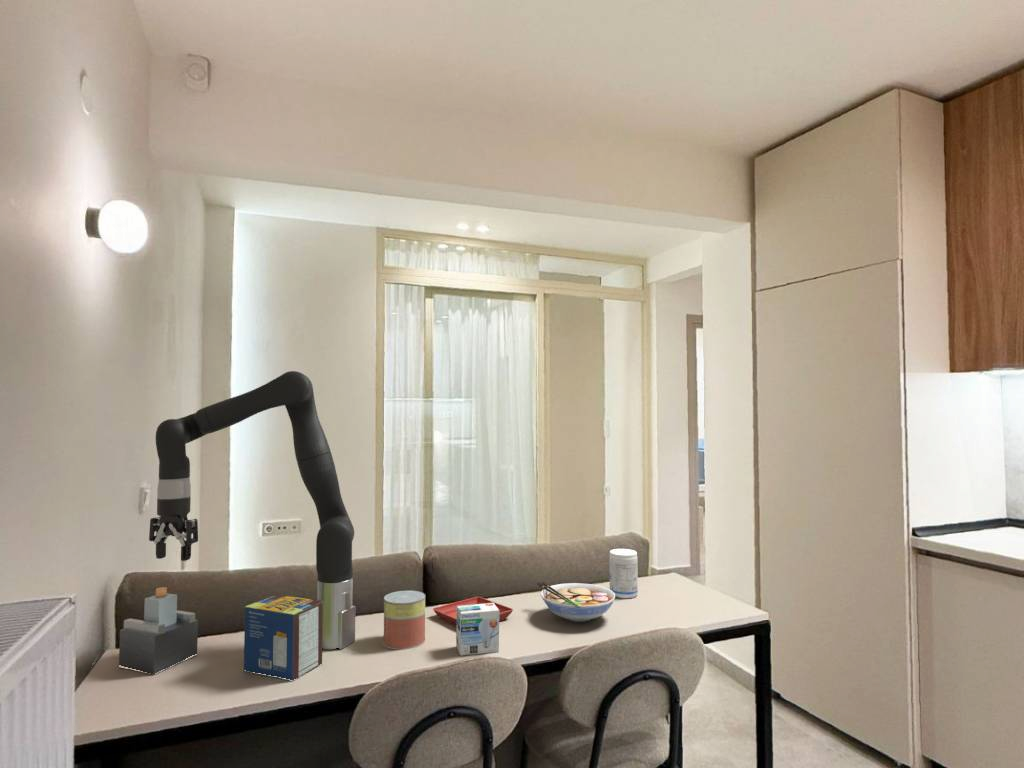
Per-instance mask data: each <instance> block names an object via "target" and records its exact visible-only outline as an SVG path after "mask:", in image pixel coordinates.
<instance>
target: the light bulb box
mask: <svg viewBox="0 0 1024 768" xmlns="http://www.w3.org/2000/svg"><path fill="white" fill-rule="evenodd" d="M455 630H456V635H455V636H456V638H455V639H456V640H455V644H456V645H455V647H456V648H457V651H458V653H459V656H469V655H480V654H481V655H482V654H491V653H499V652H500V621H499V609H498V608H497V607H496V605H495V604H494V603H485V604H474V605H462V606H457V625H456V629H455Z"/></svg>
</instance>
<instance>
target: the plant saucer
mask: <svg viewBox="0 0 1024 768" xmlns="http://www.w3.org/2000/svg"><path fill="white" fill-rule="evenodd" d="M485 603H494V604H495V605H496V607H497V608H498V609H499V622H500V620H501V621H504V620H503V619H505V620H507V618H508V617H509V616H510V615H511V614H512V613H513V611H514V608H513V607H512V608H511V607H509V606H506V605H503V604H500V603H498V602H495V601H492V600H490V599H487V598H484V597H481V596H474V597H470V598H467V599H463V600H459V601H455V602H451V603H448V604H443V605H440V606H436V607H433V608H432V610H433V611H434V613H435V614H436V616H437V617H439V618H440V619H441V618H442V619H441V620H443V619H444V621H445V622H448V623H450V624H453V625H454V626H457V606H462V605H474V604H485Z"/></svg>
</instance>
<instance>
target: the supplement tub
mask: <svg viewBox="0 0 1024 768" xmlns="http://www.w3.org/2000/svg"><path fill="white" fill-rule="evenodd" d="M608 558H609V589H610V590H611V591H613V592H614V593H615V598H618V599H633V598H635V597H637V596H638V593H639V590H638V589H639V588H638V586H639V585H638V584H639V583H638V581H639V580H638V579H639V578H638V572H639V571H638V570H639V569H638V552H637V551H636V550H634V549H629V548H613V549H611V550H610V551H609V557H608Z"/></svg>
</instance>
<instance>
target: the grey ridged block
mask: <svg viewBox="0 0 1024 768" xmlns="http://www.w3.org/2000/svg"><path fill="white" fill-rule="evenodd" d="M198 638H199V619H196V612H190V611H184V610H179V609H177V620H176V623H174V624H172V625H169V626H166V627H165V624H160V623H154V622H148V621H144V620H141V619H135V618H126V619H124V620H123V628H122V629H119V647H118V648H119V649H118V650H119V653H118V666H119V665H121V666H124V667H128V668H132V669H136V670H140V671H143V672H147V673H151V674H155V673H157V672H159V671H161V670H163V669H166V668H168V667H170V666H172V665H174V664H176V663H178V662H181V661H183V660H185V659H186V658H188V657H190V656H192V655H195V654H197V655H198V642H199V641H198ZM168 669H169V668H168ZM166 670H167V669H166ZM159 673H160V672H159ZM151 674H150V675H151ZM157 674H158V673H157ZM155 675H156V674H155Z"/></svg>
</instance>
